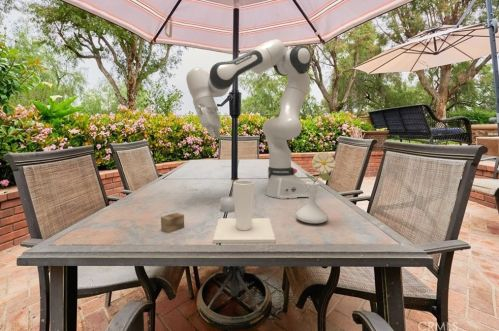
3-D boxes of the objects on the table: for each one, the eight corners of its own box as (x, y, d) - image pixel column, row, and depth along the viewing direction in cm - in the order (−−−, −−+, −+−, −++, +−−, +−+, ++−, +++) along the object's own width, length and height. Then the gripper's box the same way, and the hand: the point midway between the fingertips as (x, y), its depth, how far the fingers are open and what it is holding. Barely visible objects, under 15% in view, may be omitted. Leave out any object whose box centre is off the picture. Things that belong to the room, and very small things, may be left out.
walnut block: (177, 225, 86) (176, 212, 86) (184, 228, 84) (183, 214, 83) (161, 230, 82) (160, 217, 81) (168, 233, 79) (167, 219, 79)
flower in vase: (292, 223, 87) (294, 152, 84) (298, 214, 98) (300, 150, 95) (332, 229, 83) (335, 153, 80) (333, 218, 94) (336, 150, 90)
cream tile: (269, 221, 90) (269, 218, 90) (275, 242, 72) (275, 239, 72) (219, 221, 90) (219, 218, 90) (212, 243, 72) (212, 239, 72)
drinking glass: (229, 227, 81) (228, 182, 79) (243, 222, 86) (244, 179, 84) (243, 233, 76) (243, 185, 74) (258, 227, 81) (259, 182, 79)
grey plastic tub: (235, 208, 106) (235, 196, 105) (235, 212, 100) (235, 200, 99) (221, 208, 106) (221, 196, 105) (220, 212, 100) (219, 200, 99)
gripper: (205, 99, 97) (217, 134, 97) (218, 107, 117) (227, 136, 117) (190, 105, 98) (202, 139, 98) (205, 112, 118) (215, 140, 118)
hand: (216, 137), depth 108 cm, fingers open, 8 cm apart
